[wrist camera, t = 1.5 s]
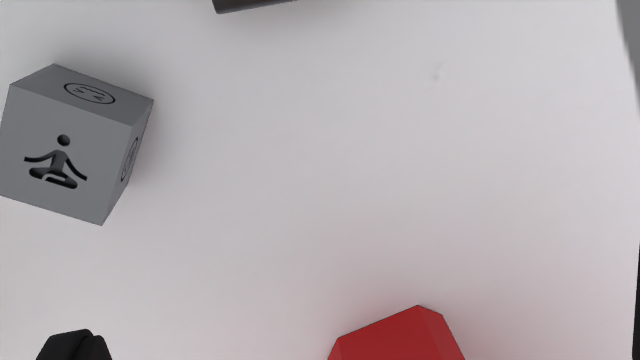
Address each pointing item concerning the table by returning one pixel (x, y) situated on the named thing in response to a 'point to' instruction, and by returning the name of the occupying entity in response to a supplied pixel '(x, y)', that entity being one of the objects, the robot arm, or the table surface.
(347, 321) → the table surface
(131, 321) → the table surface
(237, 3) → the drawer
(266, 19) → the table surface
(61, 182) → the dice cube
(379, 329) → the book
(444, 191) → the table surface
